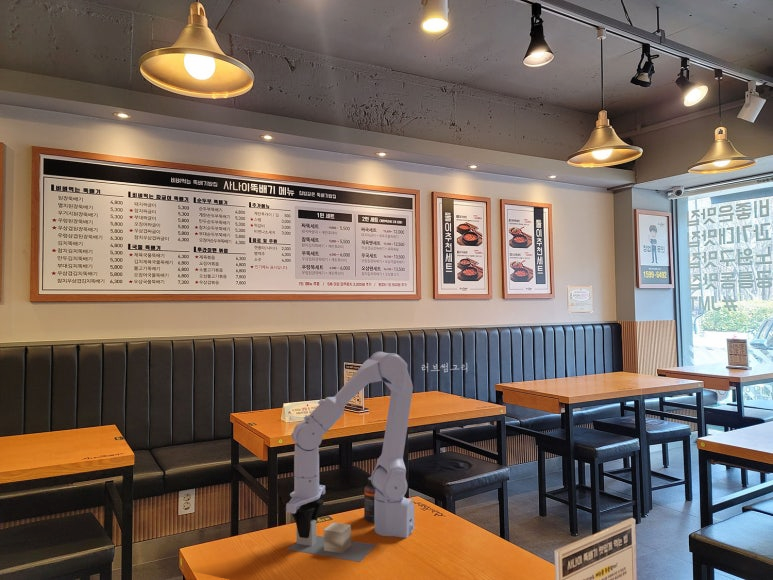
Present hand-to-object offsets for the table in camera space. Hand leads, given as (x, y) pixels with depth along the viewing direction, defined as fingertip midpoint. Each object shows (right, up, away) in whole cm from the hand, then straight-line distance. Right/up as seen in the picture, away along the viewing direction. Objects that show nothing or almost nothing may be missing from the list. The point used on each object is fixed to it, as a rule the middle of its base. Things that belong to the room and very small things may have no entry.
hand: (306, 535), depth 121 cm
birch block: (+7, -2, -3) cm, 8 cm away
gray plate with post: (+6, -3, -3) cm, 7 cm away
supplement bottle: (+16, -4, +15) cm, 22 cm away
